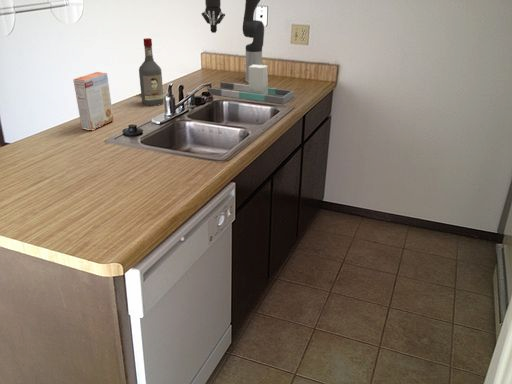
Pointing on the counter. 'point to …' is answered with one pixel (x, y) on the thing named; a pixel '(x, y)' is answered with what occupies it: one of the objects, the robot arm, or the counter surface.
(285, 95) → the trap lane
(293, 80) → the counter surface
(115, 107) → the counter surface
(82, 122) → the cracker box
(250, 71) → the skincare box
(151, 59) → the liquor
